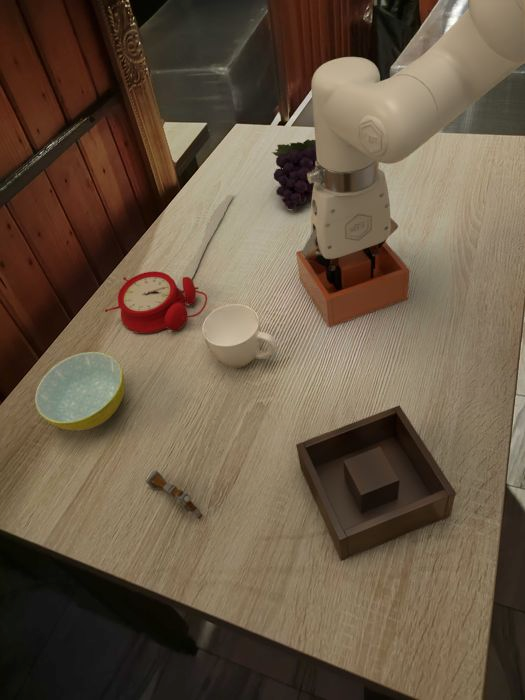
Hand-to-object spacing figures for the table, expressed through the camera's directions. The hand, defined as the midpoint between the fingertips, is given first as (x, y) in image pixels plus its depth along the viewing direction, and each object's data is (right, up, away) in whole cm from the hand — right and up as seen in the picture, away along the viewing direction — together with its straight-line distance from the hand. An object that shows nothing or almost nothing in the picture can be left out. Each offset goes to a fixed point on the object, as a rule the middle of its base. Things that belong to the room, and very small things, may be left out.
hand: (351, 277), depth 80 cm
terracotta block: (0, 0, 0) cm, 0 cm away
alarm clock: (-29, -5, +5) cm, 30 cm away
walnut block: (-1, -26, -20) cm, 33 cm away
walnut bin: (-1, -27, -20) cm, 33 cm away
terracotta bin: (0, -1, +2) cm, 2 cm away
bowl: (-36, -19, -6) cm, 42 cm away
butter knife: (-23, +9, +15) cm, 29 cm away
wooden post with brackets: (-23, -28, -17) cm, 40 cm away
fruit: (-6, +19, +21) cm, 28 cm away
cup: (-15, -12, -4) cm, 20 cm away
